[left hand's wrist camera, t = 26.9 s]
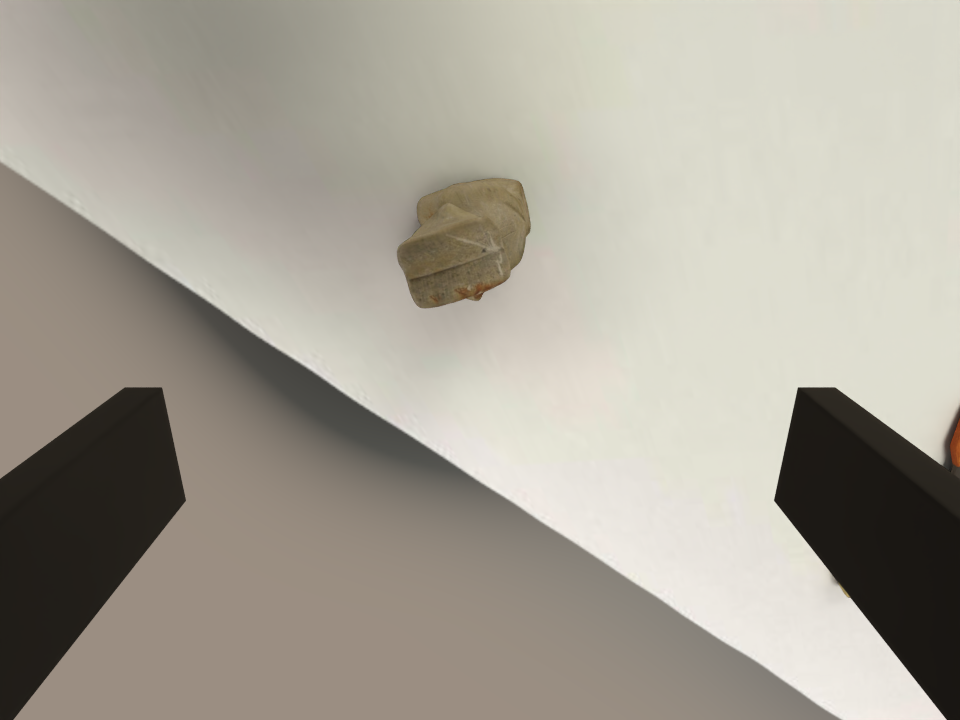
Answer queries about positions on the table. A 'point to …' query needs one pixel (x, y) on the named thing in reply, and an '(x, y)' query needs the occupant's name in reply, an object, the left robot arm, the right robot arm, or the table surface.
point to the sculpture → (465, 241)
